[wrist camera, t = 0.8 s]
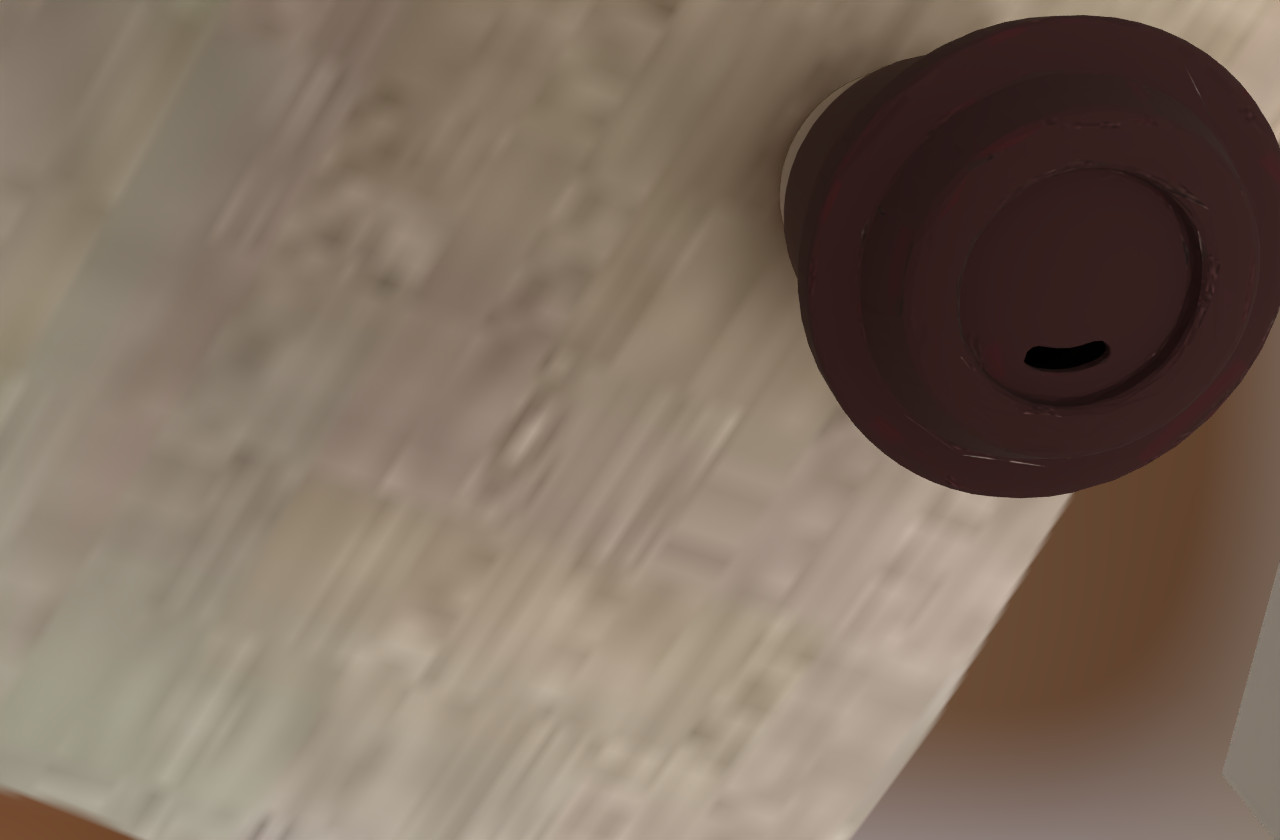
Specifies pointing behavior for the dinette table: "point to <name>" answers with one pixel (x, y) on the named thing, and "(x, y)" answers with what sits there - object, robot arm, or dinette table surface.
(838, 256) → the coffee cup
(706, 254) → the dinette table surface
